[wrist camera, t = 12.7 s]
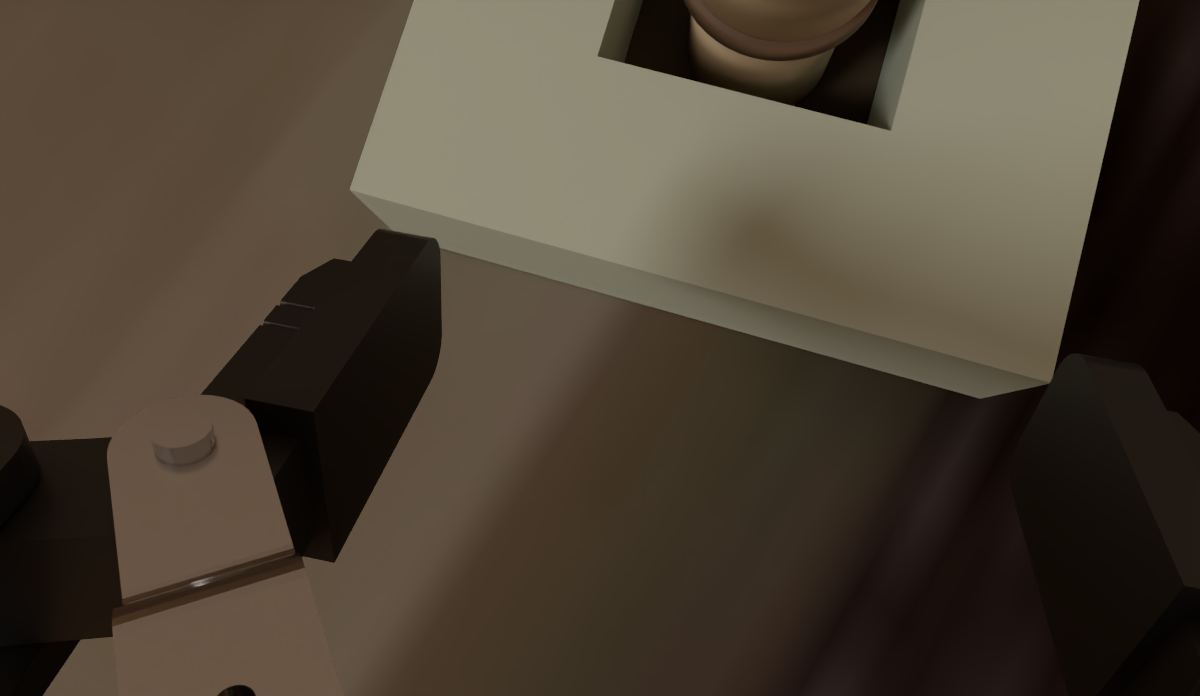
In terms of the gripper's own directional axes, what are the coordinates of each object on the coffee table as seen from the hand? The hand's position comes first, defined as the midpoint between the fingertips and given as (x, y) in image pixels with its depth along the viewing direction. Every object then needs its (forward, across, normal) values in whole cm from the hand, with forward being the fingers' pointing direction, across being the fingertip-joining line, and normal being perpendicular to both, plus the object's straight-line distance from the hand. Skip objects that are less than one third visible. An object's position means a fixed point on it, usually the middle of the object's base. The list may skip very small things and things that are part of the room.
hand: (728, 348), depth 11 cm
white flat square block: (+12, 0, 0) cm, 13 cm away
